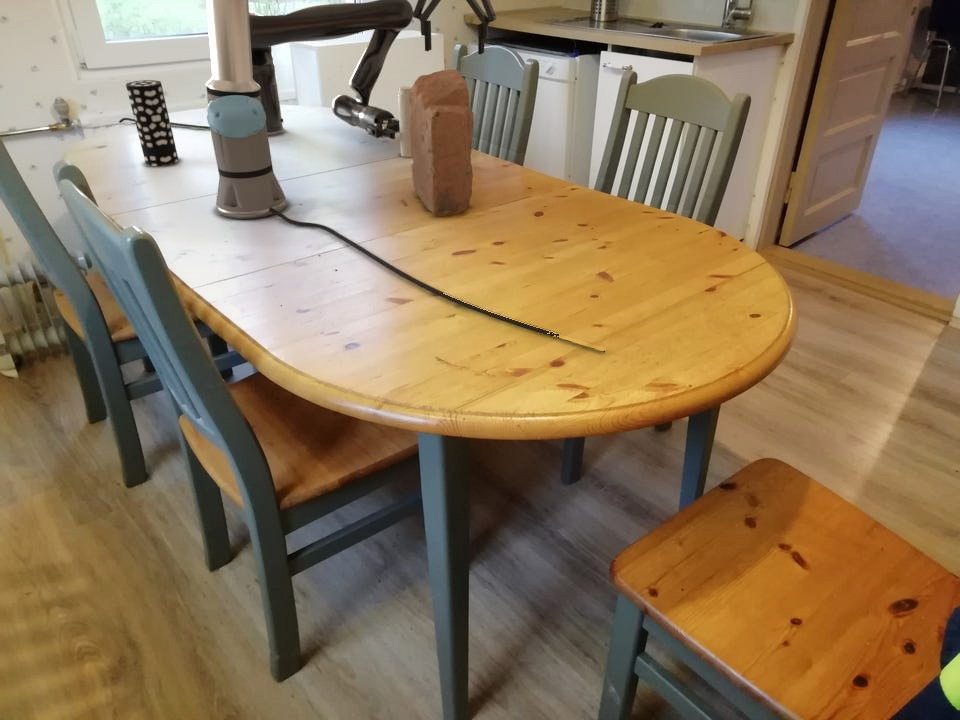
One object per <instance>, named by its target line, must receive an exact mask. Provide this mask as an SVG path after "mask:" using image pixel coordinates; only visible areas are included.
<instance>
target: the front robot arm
mask: <svg viewBox="0 0 960 720" xmlns="http://www.w3.org/2000/svg"><path fill="white" fill-rule="evenodd" d="M205 1H206V14H207V15H206V16H207V22H208V23H207V24H208V38H209V50H210V60H211V74H212V76H211V78H210V79H209V80H208V81H207V82H206V83H205V87H206V88H205V89H206V98H207V105H206V106H207V107H206V120H207V124H208V127H210V129H209V130H210V135H211V141H212V147H213V151H214V156H215V161H216V167H217V169H218V170H217V172H218V185H217V193H216V201H215V206H216V210H217V213H218V214H219V215H221V216H223V217H225V218H229V219H236V220H253V219H260V218H261V219H262V218H265V217H266V218H267V217H270V216H274V215H276V216H278V217H279V218H281V219H282V220H283V221H285V222H287V223H289V224H292V225H294V226H301V227H309V228H317V229H320V230H324V231H326V232H328V233H329V234H331V235H333V236H335V237H336V238H338V239H339V240H341V241H343V242H344V243H346V244H348V245H349V246H351V247H353V248H354V249H356V250H358V251H359V252H360V253H362V254H364V255H366V256H367V257H369V258H371V259H372V260H373V261H376V262H377V263H379V264H380V265H382V266H383V267H385V268H386V269H389V270H390V271H392V272H393V273H395V274H396V275H398V276H400V277H402V278H404V279H405V280H407V281H409V282H411V283H413V284H414V285H416V286H418V287H420V288H422V289H424V290H427V291H429V292H430V293H432V294H434V295H437V296H439V297H441V298H443V299H446V300H448V301H450V302H453V303H455V304H458V305H460V306H462V307H464V308H467V309H470V310H473V311H475V312H478V313H479V314H482V315H485V316H489V317H491V318H494V319H496V320H499V321H502V322H504V323H505V322H506V323H507V324H512V325H514V326H517V327H520V328H523V329H527V330H530V331H532V332H536V333H539V334H542V333H543V334H542V335H545V336H549V335H550V336H549V337H552V336H554V335H556V337H557V336H559V334H554V333H553V332H554V331H553V332H550V334H547V333H549V331H551V329H550V330H549V329H547V328H545V329H546V330H549V331H546V330H543V329H544V328H543V329H540V328H541V327H540V328H536V327H538V325H533V324H530V323H529V324H530V325H533V326H536V327H533V326H530V325H527V324H528V323H527V324H524V323H525V322H524V323H521V322H522V321H521V322H518V321H519V320H518V321H515V320H516V319H515V320H512V319H513V318H512V319H509V318H510V317H509V316H506V317H508V318H506V317H503V316H504V315H503V316H500V315H501V314H500V315H497V314H498V313H497V314H494V313H495V312H494V313H491V312H493V311H492V310H489V309H486V310H488V311H491V312H488V311H486V310H483V309H484V308H483V309H480V308H482V307H481V306H478V305H475V306H477V307H480V308H477V307H475V306H472V305H474V304H473V303H470V304H472V305H470V304H467V303H469V302H468V301H466V302H467V303H464V302H462V301H464V300H463V299H460V300H462V301H460V300H457V299H459V298H458V297H455V298H457V299H455V298H452V297H450V296H452V295H450V294H448V295H450V296H448V295H445V294H443V293H445V292H444V291H441V290H439V289H437V288H436V287H433V286H431V285H429V284H427V283H425V282H423V281H421V280H419V279H417V278H415V277H413V276H412V275H409V274H407V273H406V272H404V271H402V270H401V269H399V268H397V267H395V266H394V265H392V264H390V263H389V262H387V261H386V260H384V259H382V258H381V257H379V256H377V255H376V254H374V253H372V252H371V251H369V250H367V249H366V248H364V247H362V246H361V245H360V244H358V243H356V242H354V241H353V240H351V239H350V238H348V237H346V236H344V235H343V234H340V233H339V232H338V231H336V230H335V229H333V228H331V227H329V226H327V225H323V224H320V223H316V222H305V221H298V220H294V219H291V218H290V217H287V216H286V215H285V214H284V213H282V211H283V210H285V209H286V207H287V199H286V194H285V193H284V191H283V189H282V187H281V184H280V182H279V180H278V179H277V177H276V175H275V172H274V167H273V160H272V154H271V148H270V140H269V136H268V134H267V127H266V115H265V112H264V109H263V106H262V104H261V94H260V86H259V85H258V84H257V83H256V82H255V81H254V80H253V74H252V56H251V39H250V21H249V12H250V5H249V4H250V3H249V0H205ZM441 1H442V0H431V1H430V2H429V3H428V5H427V6H426V3H427V0H417V3H416V5H415V7H414V9H413V18H414V19H417V20H419V22H420V35H421V36H422V37H423V36H424V51H425V52H429V51H432V50H433V49H432V21H431V20H429V18H430V16H431V15H432V14H433V12H435V9H436V8H437V7H438V6H439V4H440V2H441ZM465 1H466V2H467V4H468V5H469V7H470V8H471V10H472V11H473V13H474V14H475V15H476V17H477V18H478V20H479V21H480V22H481V23H479V24H478V27H477V28H478V31H477V34H478V35H477V36H478V38H477V54H478V55H483V54H484V53H485V40H486V39H488V37H489V25H490V24H491V23H492V22H495V21H496V20H497V15H496V12H495V10H494V7H493V5H492V2H491V0H480V1H481V3H482V6H483V9H484V10H483V9H482V7H481V6H480V4H479V3H478V1H477V0H465ZM425 6H426V8H425ZM424 8H425V9H424ZM423 10H424V11H423ZM484 11H485V12H484ZM555 332H556V333H558V332H557V331H555ZM552 333H553V334H552ZM558 338H559V337H558ZM558 338H557V339H558Z"/></svg>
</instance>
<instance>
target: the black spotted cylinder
mask: <svg viewBox="0 0 960 720" xmlns="http://www.w3.org/2000/svg"><path fill="white" fill-rule="evenodd" d="M125 87H126V91H127V95H128V99H129V103H130V107H131V110H132V115H133V119H135V123H134V124H135V127H136V130H137V134H138V139H139V143H140V146H141V150H142V155H143V158H144V163H145V164H146V165H147V166H151V167H164V166H170V165H174V164H176V163H178V162H179V155H178V150H177V146H176V142H175V137H174V133H173V128H172V125H171V124H170V122H171V121H170V116H169V111H168V107H167V103H166V98H165V93H164V89H163V84H162V81H161V80H155V79H154V80H153V79H151V80H150V79H145V80H144V79H141V80H134V81H130V82H129V81H128V82H127V83H126V84H125Z"/></svg>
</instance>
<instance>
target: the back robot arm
mask: <svg viewBox="0 0 960 720" xmlns="http://www.w3.org/2000/svg"><path fill="white" fill-rule="evenodd" d="M413 12H414V8H413V5H412V4H411V2H410V1H409V0H372V1H367V2H342V3H341V2H340V3H327V4H320V5H319V4H318V5H313V6H309V7H304V8H301V9H298V10H295V11H292V12H288V13H284V14H273V15H272V14H271V15H262V14H259V13H257V12H253V11H249V21H250V39H251V56H252V74H253V80H254V81H255V82H256V83H257V84H258V85H259V86H260V94H261V104H262V106H263V109H264V112H265V115H266V127H267V134H268V137H270V136H277V135H281V134H283V133H284V132H285V130H284V126H283V123H284V119H283V117H282V110H281V104H280V96H279V89H278V82H277V81H278V80H277V75H276V68H275V62H274V61H275V60H274V56H273V50H272V47H274V46H279V45H283V44H289V43H306V42H307V43H308V42H321V41H329V40H338V39H342V38H343V39H344V38H346V37H350V36H353V35H357V34H360V33H363V32H368V31H373V33H372V34H371V35H372V36H371V37H370V41H369V42H368V44H367V46H366V48H365V50H364V51H363V53H362V56H361V58H360V59H359V61H358V63H357V65H356V68H355V70H354V72H353V74H352V76H351V78H350V80H349V83H348V86H349V87H350V89H351V90H352V91H353V92H354V94H355V98H354V97H352V96H349V95H347V94H340V95H337V96H336V97H335V98H333V100H332V102H331V103H332V104H331V110H332V113H333V115H334V116H335V117H337V118H338V119H340V120H341V121H342V122H345V123H347V124H348V125H350V126H352V127H355V128H356V127H358V128H359V129H362V130H364V131H366V133H367V135H370V136H372V137H373V138H376V139H380V138H384V139H385V138H388V139H390V140H396V134H400V125H399V118H396V117H395V116H394V114H393V113H392V112H390V111H389V110H386V109H383V108H380V107H377V106H374V105H370V104H369V103H370V98H371V94H372V92H373V90H374V88H375V85H376V83H377V81H378V79H379V77H380V75H381V72H382V69H383V67H384V65H385V61H386V58H387V55H388V53H389V51H390V49H391V47H392V45H393V43H394V41H395V40H396V39H397V37H398V36H399V34H400V33H401V31H403V30H405V29H406V28H408V27H409V26H410V25H411V23H412V21H413V18H414V17H413ZM124 121H129V122H135V119H134V118H132V117H131V118H130V117H123V118H121V119H119V121H118V123H123V122H124ZM170 124H171V126H178V127H179V126H180V127H188V128H194V129H195V128H196V129H205V130H210V126H209V125H197V124H189V123H181V122H180V123H179V122H172V121H170Z"/></svg>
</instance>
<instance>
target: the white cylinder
mask: <svg viewBox="0 0 960 720" xmlns="http://www.w3.org/2000/svg"><path fill="white" fill-rule="evenodd" d="M411 88H412V87H411V86H400V87H399V88H398V93H397V103H398V120H399V125H400V133H399V138H400V140H399V143H400V156H401V157H402V158H412V155H411V143H410V116H411V104H410V99H409V94H410V91H411Z"/></svg>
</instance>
